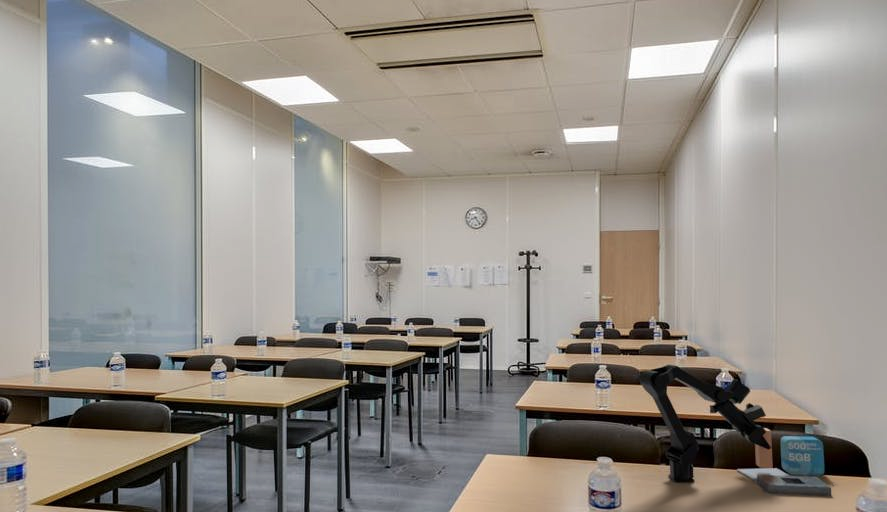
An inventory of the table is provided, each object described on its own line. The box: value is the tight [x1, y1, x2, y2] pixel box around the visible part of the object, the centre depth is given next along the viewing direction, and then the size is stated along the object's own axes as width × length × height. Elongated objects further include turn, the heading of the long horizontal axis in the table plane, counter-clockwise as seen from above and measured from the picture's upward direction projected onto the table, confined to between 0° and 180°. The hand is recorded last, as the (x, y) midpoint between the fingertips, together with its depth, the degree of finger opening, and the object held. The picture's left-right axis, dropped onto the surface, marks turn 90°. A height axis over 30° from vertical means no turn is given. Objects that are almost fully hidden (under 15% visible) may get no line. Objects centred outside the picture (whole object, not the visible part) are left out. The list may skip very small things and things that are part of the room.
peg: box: [754, 427, 774, 469], centre depth 201 cm, size 4×4×12 cm
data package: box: [779, 435, 825, 476], centre depth 202 cm, size 12×4×12 cm, turn 80°
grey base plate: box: [756, 475, 832, 497], centre depth 186 cm, size 18×10×2 cm, turn 79°
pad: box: [736, 467, 791, 481], centre depth 200 cm, size 14×10×1 cm
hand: (767, 446), depth 200 cm, fingers closed on peg, 4 cm apart
